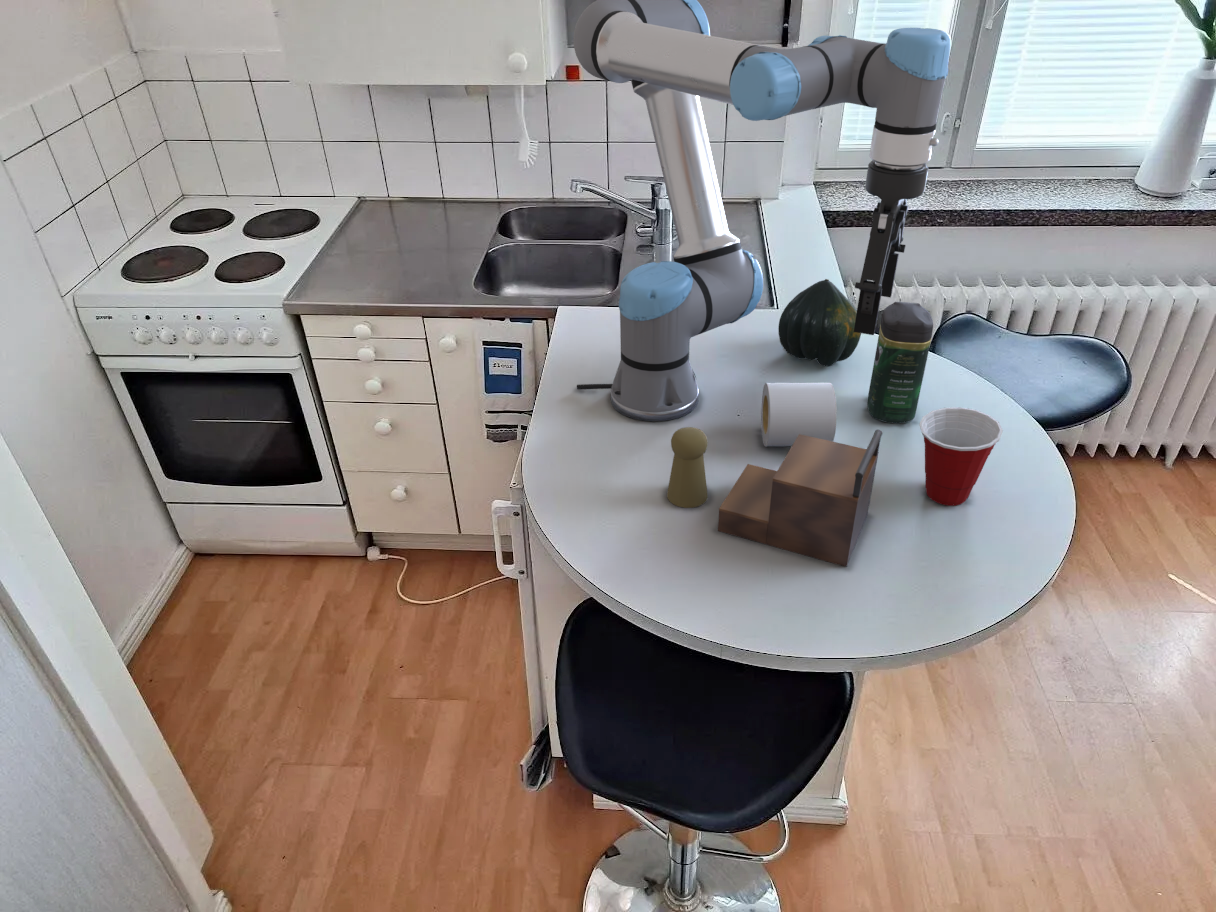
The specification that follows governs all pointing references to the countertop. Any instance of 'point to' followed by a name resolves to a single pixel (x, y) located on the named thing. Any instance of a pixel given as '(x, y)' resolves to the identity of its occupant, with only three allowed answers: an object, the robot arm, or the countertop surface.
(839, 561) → the brown wooden stepped block
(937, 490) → the plastic cup
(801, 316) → the squash
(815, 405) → the toilet paper
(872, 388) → the coffee jar
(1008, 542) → the countertop surface
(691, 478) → the pale yellow rounded piece
